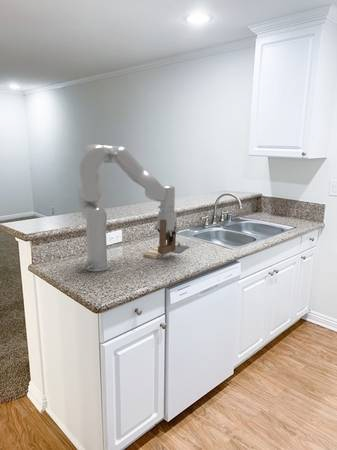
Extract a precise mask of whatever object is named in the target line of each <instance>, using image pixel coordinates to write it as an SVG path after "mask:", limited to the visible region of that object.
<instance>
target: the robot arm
mask: <svg viewBox="0 0 337 450" xmlns="http://www.w3.org/2000/svg"><path fill="white" fill-rule="evenodd" d="M102 163H105V164H116V165H117V166H118V168H120V169H121V170H122V172H123V173H124V174H125V175H126V176H127V177H128V178H129V179H130V180H131V181H133V182H134V183H136V184H138V185H139V186H140V187H142V188H143V189H144V195H145V196H146V198H148V199H149V200H152V201H154V202H159V205H158V209H159V211H158V214H157V219H156V226H155V227H154V229H155V230H157V231H158V233H159V234H160V220H165V221H166V232H167V231H169V232H170V236H169V243H172V242H173V235H174V234H175V233H176V234H177V233H179V232H180V228H179V227H178V225H177V224H178V223H177V222H178V221H177V214H176V211H175V203H176V202H175V198H176V188H175V186H173V185H172V184H171V185H169V184H166V185H162V183H160V182H159V180H157V179H156V177H155V176H153V175H152V174H151V173H150V172H149V171H148V170H147V169H146V168H145V167H143V165H141V163H140V162H139V161H138V160H137V158H135V157H134V155H133V154H132V153H131V152H130V151H129V150H128V148H126V147H124V146H121V145H120V146H119V145H116V146H115V145H102V144H99V143H97V144H96V143H94V144H89V145H87V147H86V148H85V150H84V155H83V156H82V158H81V160H80V164H79V176H80V184H79V186H78V189H77V195H78V201H79V206H80V207H79V208H80V213H81V215H82V217H83V218H84V220H86V221H85V222H86V226H85V227H86V228H85V235H86V236H85V237H86V238H85V239H86V257H87V258H86V259H87V260H86V261H85V263H84V264H82V265H80V266H81V269H83V270H84V269H85V270H86V271H87V272H104V271H106V270H108V269H110V268H111V264H110V263H109V261H108V253H107V220H108V217H107V212H106V210H105V208H104V207H103V206H101V205H100V203H99V201H100V200H101V199H102V188H101V182H100V176H99V169H100V165H101V164H102ZM174 229H175V231H174Z"/></svg>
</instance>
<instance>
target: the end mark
mask: <svg viewBox="0 0 337 450" xmlns="http://www.w3.org/2000/svg"><path fill="white" fill-rule="evenodd" d="M189 248H190V246H189V245H188V246H187V245H181V244H180V246H179V247H177V248H175V251H171V252H170V253H174V254H181V253H183V252H185V251H187V250H188V249H189Z"/></svg>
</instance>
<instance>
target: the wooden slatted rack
mask: <svg viewBox="0 0 337 450" xmlns="http://www.w3.org/2000/svg"><path fill="white" fill-rule="evenodd" d="M166 245H167V241H166ZM179 246H181V242H179V241H176V245H175V249H176V248H177V247H179ZM158 247H159V245H158V246H156V247H154V248H152V249H150V250H148V251H146V252H144V253H142V257H143V258H145V259H151V260H158V259H159V258H161V257H163V256H165V255H167V254H168V253H165V254H160V253H158Z"/></svg>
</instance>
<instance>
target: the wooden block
mask: <svg viewBox="0 0 337 450" xmlns="http://www.w3.org/2000/svg"><path fill="white" fill-rule="evenodd" d="M174 231H175V229H174ZM169 236H170V232H169V231H167V230H166V221H165V220H160V233H159V235H158V237H159V239H158V240H159V241H158V244H159V245H158V246H159V247H158V246H157V247H158V253H160V254H165V253H167V254H168V253H172V252H171V251H175V249H176V248H175V245H176V242H177V241H176V238H177V233H175V234H174V235H173V242H172V243H169ZM166 242H167V245H166ZM165 255H166V254H165Z"/></svg>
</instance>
